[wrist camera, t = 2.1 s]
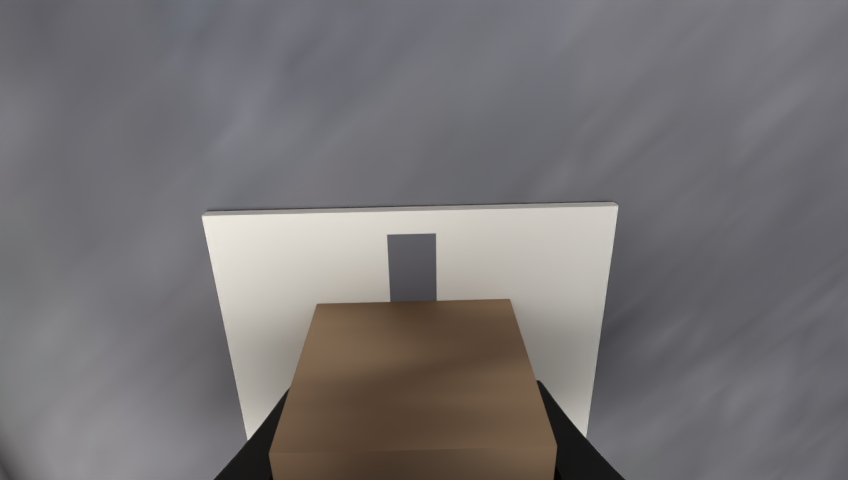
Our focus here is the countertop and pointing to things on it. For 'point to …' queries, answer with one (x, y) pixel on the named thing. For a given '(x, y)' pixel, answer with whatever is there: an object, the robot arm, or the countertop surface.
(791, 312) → the countertop surface
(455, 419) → the walnut block
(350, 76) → the countertop surface
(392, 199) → the countertop surface
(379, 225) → the letter card
